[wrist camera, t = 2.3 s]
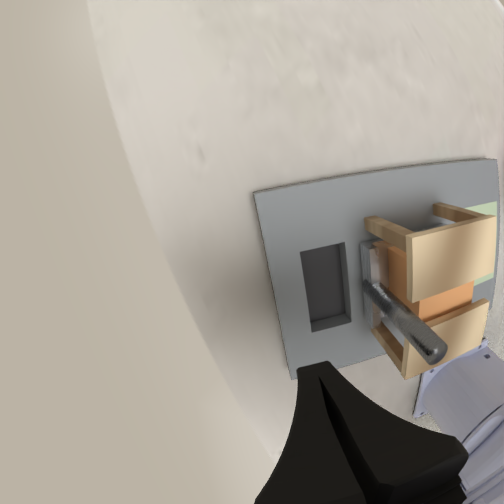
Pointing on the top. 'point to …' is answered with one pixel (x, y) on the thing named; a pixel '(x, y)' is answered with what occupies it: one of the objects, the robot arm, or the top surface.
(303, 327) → the deck
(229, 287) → the top surface
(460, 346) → the wooden stool
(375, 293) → the sled
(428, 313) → the block
